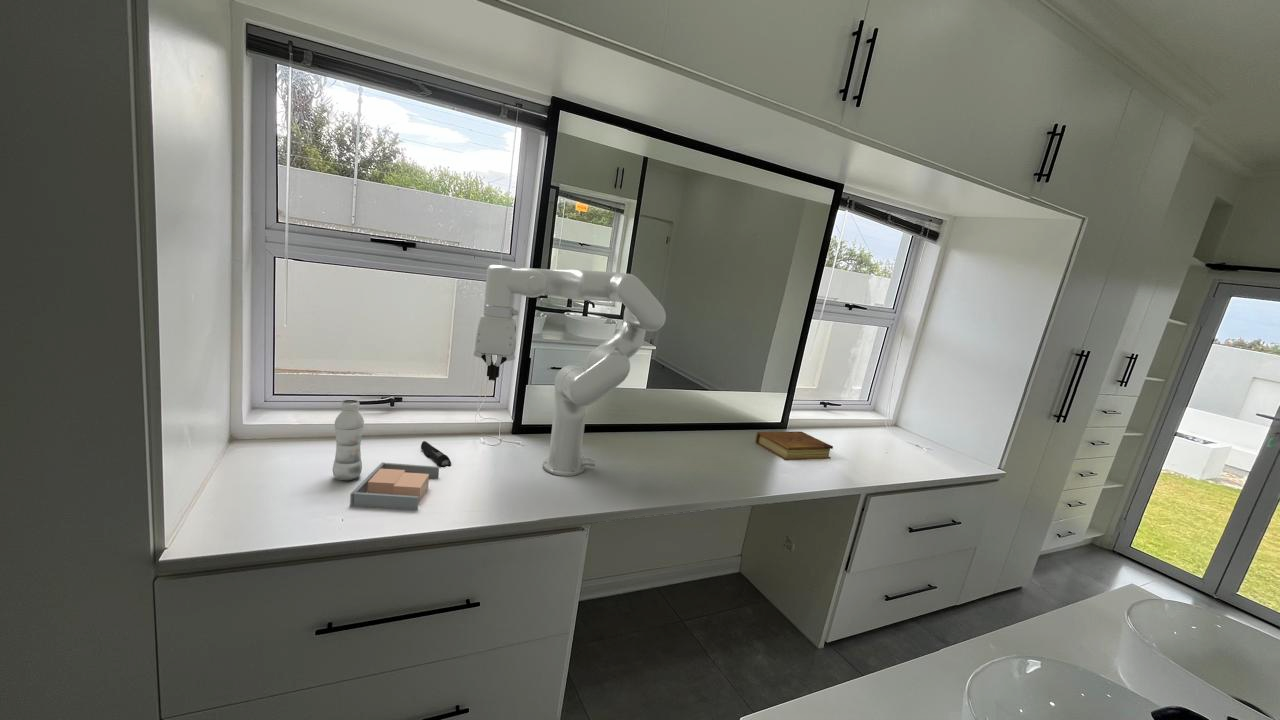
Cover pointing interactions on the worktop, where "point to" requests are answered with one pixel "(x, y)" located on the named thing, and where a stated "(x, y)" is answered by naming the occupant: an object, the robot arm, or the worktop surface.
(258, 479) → the worktop surface
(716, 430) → the worktop surface
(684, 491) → the worktop surface
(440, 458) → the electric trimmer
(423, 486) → the tile
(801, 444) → the diary
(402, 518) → the worktop surface
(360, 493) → the organizer bay
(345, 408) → the plastic bottle
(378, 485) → the tile
